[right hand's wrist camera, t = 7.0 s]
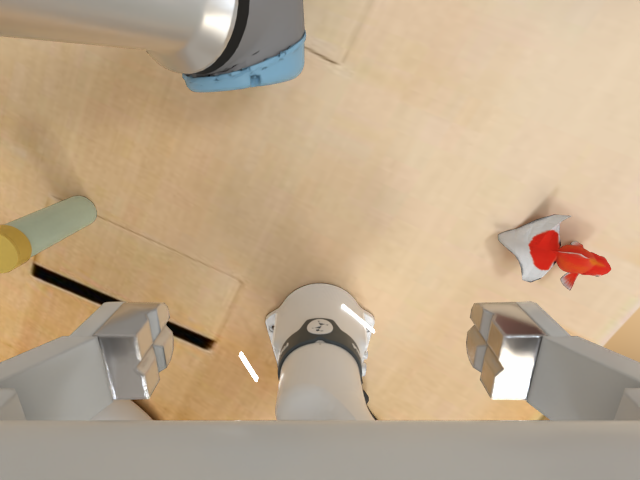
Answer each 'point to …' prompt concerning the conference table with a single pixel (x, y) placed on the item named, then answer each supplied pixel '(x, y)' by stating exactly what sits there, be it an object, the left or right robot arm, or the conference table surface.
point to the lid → (13, 248)
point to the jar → (55, 222)
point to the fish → (550, 251)
